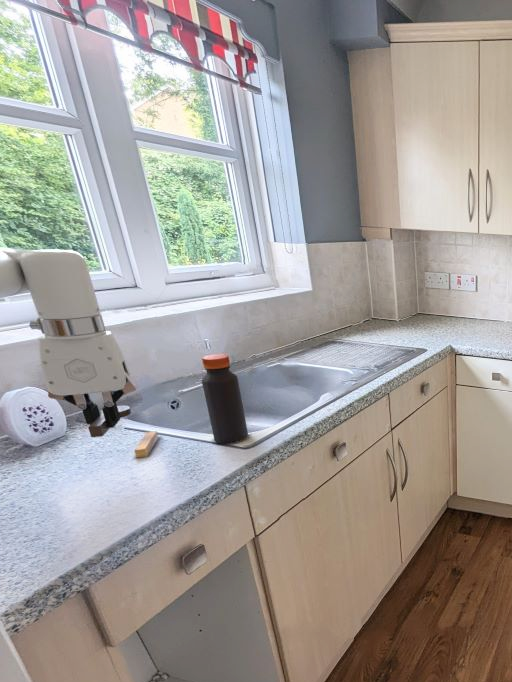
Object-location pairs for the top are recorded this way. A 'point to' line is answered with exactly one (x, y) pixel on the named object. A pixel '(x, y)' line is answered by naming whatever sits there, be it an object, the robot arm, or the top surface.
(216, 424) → the bottle
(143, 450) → the wooden bar
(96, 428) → the spoon
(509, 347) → the top surface
